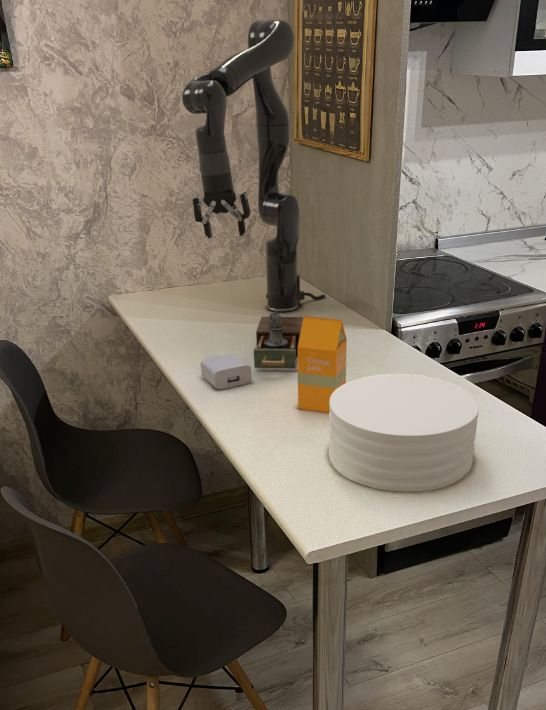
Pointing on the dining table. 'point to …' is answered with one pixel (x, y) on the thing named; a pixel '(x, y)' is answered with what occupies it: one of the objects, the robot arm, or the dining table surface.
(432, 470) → the plate stack
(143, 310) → the dining table surface
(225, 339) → the dining table surface
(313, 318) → the orange juice
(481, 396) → the dining table surface
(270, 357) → the drawer
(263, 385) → the dining table surface
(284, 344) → the salt shaker
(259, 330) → the cabinet
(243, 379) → the charger
